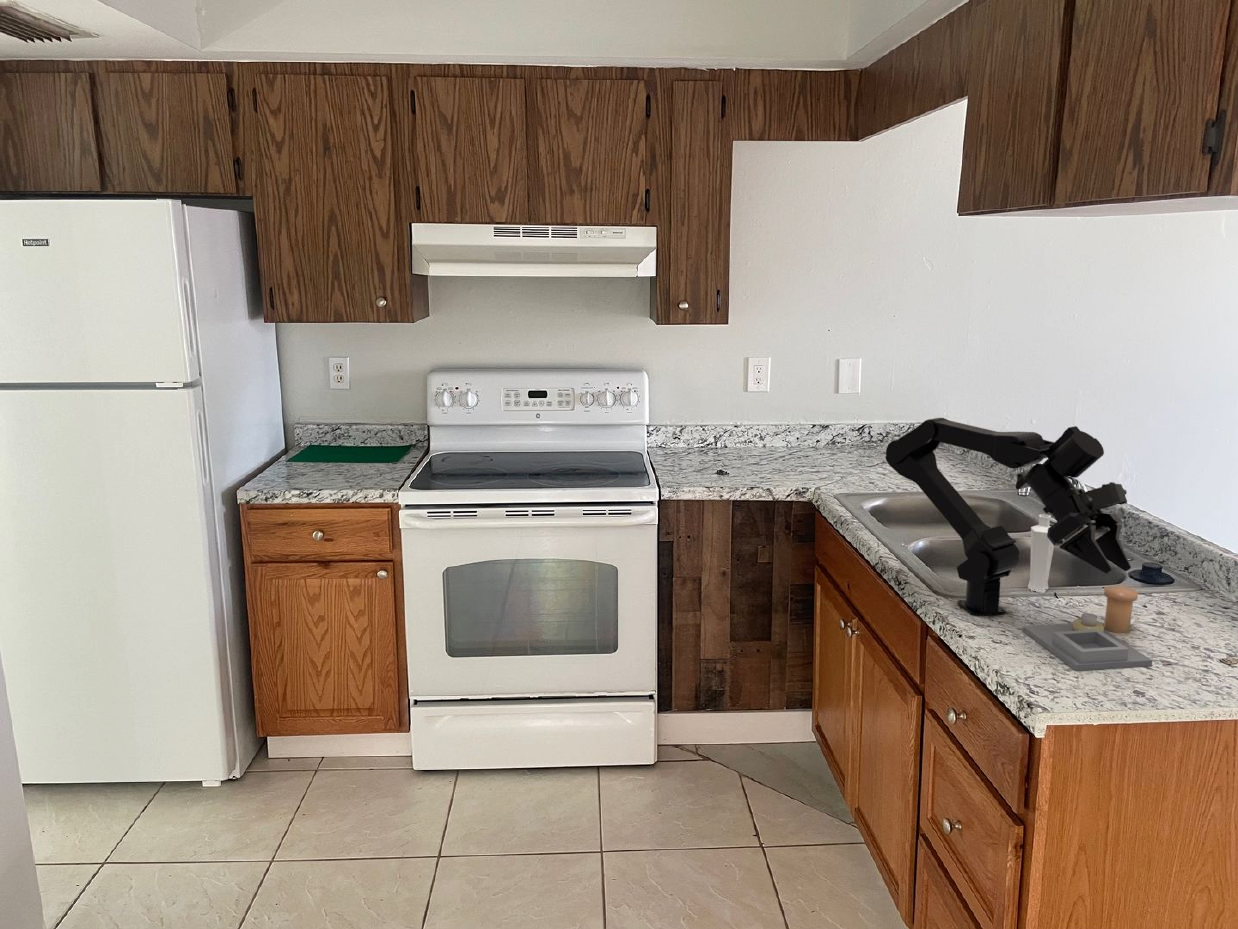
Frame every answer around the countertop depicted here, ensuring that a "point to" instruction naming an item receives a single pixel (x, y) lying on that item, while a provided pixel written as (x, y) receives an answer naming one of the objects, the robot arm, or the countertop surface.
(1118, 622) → the tan flared peg
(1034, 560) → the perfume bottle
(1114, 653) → the housing
